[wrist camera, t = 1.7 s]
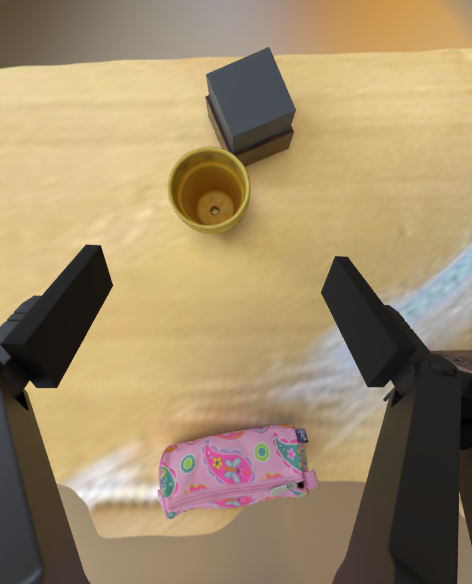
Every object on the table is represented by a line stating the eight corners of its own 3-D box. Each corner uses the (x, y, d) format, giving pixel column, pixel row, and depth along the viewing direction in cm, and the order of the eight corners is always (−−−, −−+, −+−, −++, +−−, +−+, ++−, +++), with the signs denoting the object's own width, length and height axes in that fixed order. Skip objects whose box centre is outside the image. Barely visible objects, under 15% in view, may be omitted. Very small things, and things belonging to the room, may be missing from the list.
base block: (264, 91, 40) (267, 69, 36) (288, 147, 40) (294, 131, 36) (208, 115, 40) (205, 96, 36) (232, 172, 40) (231, 158, 36)
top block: (265, 73, 36) (269, 46, 32) (289, 130, 36) (296, 109, 32) (209, 98, 36) (205, 74, 32) (233, 154, 36) (232, 137, 32)
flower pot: (221, 256, 40) (215, 245, 30) (171, 217, 40) (150, 194, 30) (260, 206, 40) (267, 179, 30) (210, 167, 40) (201, 128, 30)
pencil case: (297, 411, 40) (314, 447, 31) (305, 466, 40) (324, 518, 31) (168, 430, 40) (147, 470, 31) (176, 485, 40) (158, 541, 31)
